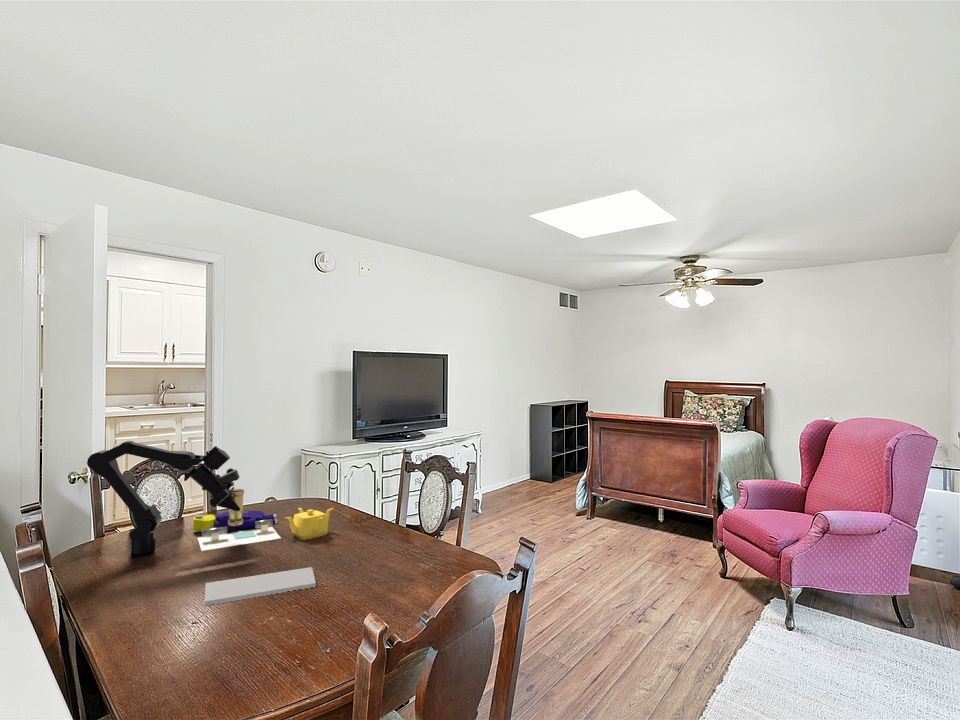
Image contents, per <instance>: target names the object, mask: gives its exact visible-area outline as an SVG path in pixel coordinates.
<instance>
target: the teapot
mask: <svg viewBox="0 0 960 720" xmlns="http://www.w3.org/2000/svg"><path fill="white" fill-rule="evenodd" d="M297 509H298V512H299V513H294V515H293V518H292V516H286V517H284V518H285V519H287V520H288V521H289V527H290V530H291V533H292V534H293V535H294V537H295V538H296V539H298V540H300V541H302V540H303V541H307V539H309V540H313V539H312V538H314V539H317V538H316V537H318V538H321V537H324V536H323V535H325V536H327V535H326V534H328V531H329V530H328V527H329V526H328V524H329V521H330V514H331V511H332V510H333V509H334V507H331V508H328V509H327V510H326V512H322V511H320V510H315V509H308V510H306V511H304V510H303V509H302V507H298V508H297ZM320 536H321V537H320Z"/></svg>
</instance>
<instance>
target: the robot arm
mask: <svg viewBox="0 0 960 720" xmlns="http://www.w3.org/2000/svg"><path fill="white" fill-rule="evenodd" d="M125 455H131V456H135V457H140V458H144V459H147V460H153V461H157V462H161V463H164V464H166V465H168V466H170V467H172V468H174V469H177V470H179V471H185V472H184V473H183V476H184V479H183V481H184V482H187V481H188V480H189V479H190V478H191V479H192V480H193V481H194V482H196V483H197V484H198V485H199V486H200V487H201V490H202V491H206V493H208V494H209V495H210V500H209V505H210V506H211V507H212V508H216V507H220V508H225V509H228V510H229V509H231V510H235V511H239V510H240V508H239V506H238V505H237V504H236V502H235V501H234V500H233V499H232V497H231V496H232V492H230V493H229V490H233V489H235V486H234V485H235V482H236V481H237V480H239V479H240V478H241V476H240V474H239V471H238V470H237V469H234V468H232V467H230V468H228V469H227V470H226V473H224V474H223V475H220V474H215V473H214V472H213V470H216V471H218V470H219V469H220V468H222V466H224V465H225V464H226V463H227V462H228V461H229V460H230V459H231V457H230V456H229V454H228V453H227V452H226V451H225V450H222V449H221V448H220V447H218V446H216V445H215V446H213V447H212V448H211V450H210V451H209V452H208V453H207V454H205V455H200V454H199V455H198V454H195V453H194V452H192V451H188V450H187V451H185V450H168V449H162V448H159V447H155V446H152V445H147V444H144V443H143V444H142V443H139V442H134V441H133V440H126V441H124V442H122V443H120V444H119V445H117V446H115V447H113V448H111V449H108V450H106V449H104V450H100V451H97V452H94V453H93V454H90V455H89V457H88V458H87V461H86V465H87V467H88V468H89V469H91V470H92V472H94V473H95V474H96V475H98V476H99V477H101V478H103V479H105V480H106V481H107V484H109V485H110V487H111V488H112V489H113V490H114V492H115V493H116V494H117V496H118V497H119V498H120V499H121V500H122V502H123V503H124V504H125V506H127V508H128V509H129V511H130V512H131V514H132V519H133V522H134V524H135V525H136V526H135V527H134V528H133V529H132V530H131V531H130V532H129V534H128V536H129V539H130V540H131V541H130V542H131V544H130V557H131V558H137V557H138V556H139V557H143V556H144V555H145V556H150V555H149V554H152V555H154V552H155V551H156V537H155V536H154V531H155V530H156V528H158V526H159V525H160V524H161V522H162V515H161V514H162V511H160V510H159V509H158V508H157V506H156V504H155V503H154V504H152V505H148V504H147V503H146V502H145V501H144V500H143V499H142V497H141V496H140V495H139V493H138V492H137V491H136V489H134V488H133V486H132V485H131V483H130V482H129V481H128V480H127V478H126V477H125V476H124V475H123V473H122V472H121V471H120V467H119V464H118V460H117V459H118V458H120V457H122V456H125ZM202 462H203V463H202ZM201 463H202V464H201ZM198 465H200V466H198ZM191 468H192V469H191ZM190 469H191V470H190ZM188 470H189V471H188ZM234 481H235V482H234ZM130 557H129V558H130Z"/></svg>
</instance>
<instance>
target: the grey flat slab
mask: <svg viewBox="0 0 960 720" xmlns="http://www.w3.org/2000/svg"><path fill="white" fill-rule="evenodd" d="M314 574H315V573H314V570H313V567H312V566H310V567H309V566H308V567H304V568H297V569H296V568H295V569H291V570H283V571H277V572H270V573H263V574H256V575H251V576H245V577H237V578H232V579H231V578H229V579H225V580H219V581H217V580H216V581H211V582H206V583H205V586H204V587H205V588H204V589H205V590H204V605H203V606H204V607H207V605H208V606H213V605H212V604H214V605H218V604H217V603H220V604H225V603H224V602H226V603H231V602H230V601H232V602H237V600H238V601H242V599H243V600H248V598H249V599H254V597H255V598H260V597H266V596H271V594H273V595H277V594H276V593H279V594H283V592H284V593H288V592H287V591H290V592H294V591H293V590H296V591H299V590H298V589H302V590H306V589H305V588H308V589H311V588H310V587H314V588H316V587H317V582H316V577H315V575H314ZM315 586H316V587H315ZM259 596H260V597H259Z"/></svg>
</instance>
